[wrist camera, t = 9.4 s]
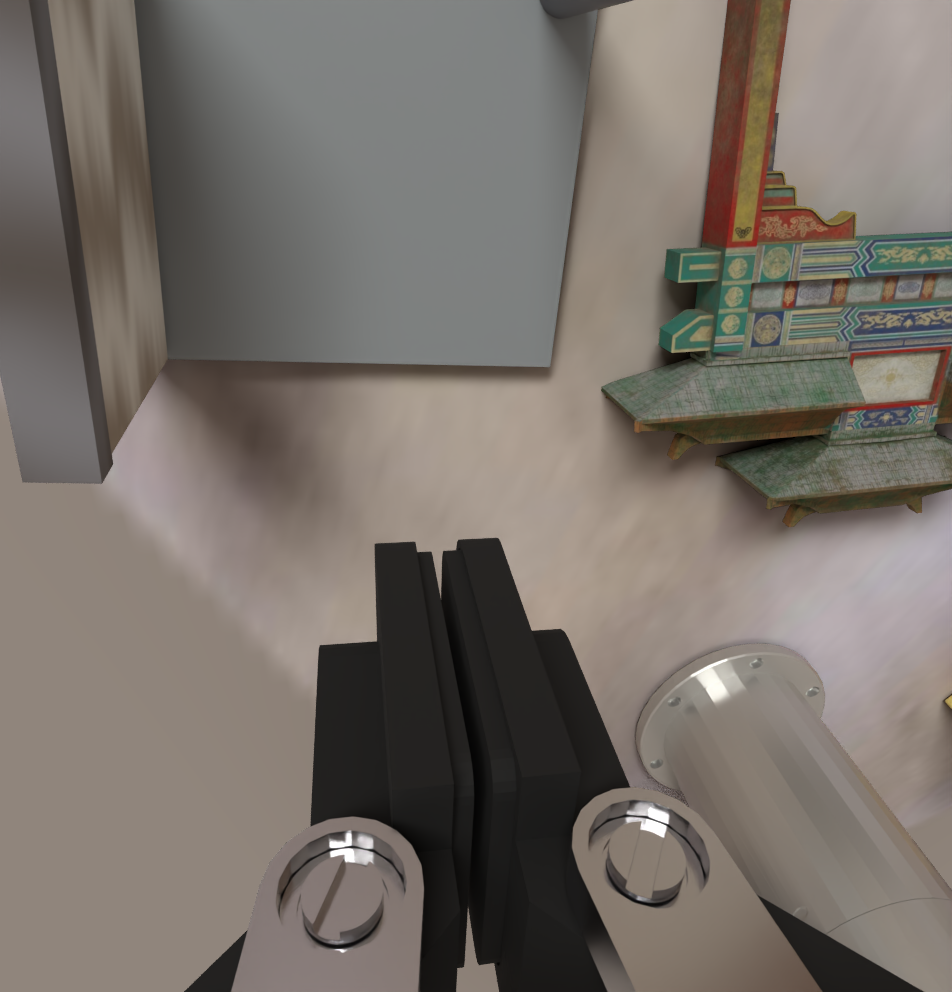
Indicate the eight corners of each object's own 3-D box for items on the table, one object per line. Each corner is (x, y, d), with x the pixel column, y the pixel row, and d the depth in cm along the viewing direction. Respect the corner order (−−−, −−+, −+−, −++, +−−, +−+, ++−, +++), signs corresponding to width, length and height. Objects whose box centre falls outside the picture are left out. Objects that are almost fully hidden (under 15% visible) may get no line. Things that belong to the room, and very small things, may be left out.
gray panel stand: (544, 359, 34) (637, 481, 23) (62, 349, 30) (-79, 489, 20) (630, -307, 23) (869, -618, 13) (-99, -456, 19) (-588, -1067, 9)
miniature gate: (1448, -277, 25) (1124, 516, 38) (1263, -206, 29) (1033, 473, 42) (694, -333, 21) (624, 572, 34) (625, -240, 26) (587, 518, 39)
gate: (55, -122, 22) (-141, -266, 13) (134, -109, 22) (-2, -239, 13) (116, 356, 29) (18, 482, 20) (175, 359, 29) (105, 483, 20)
